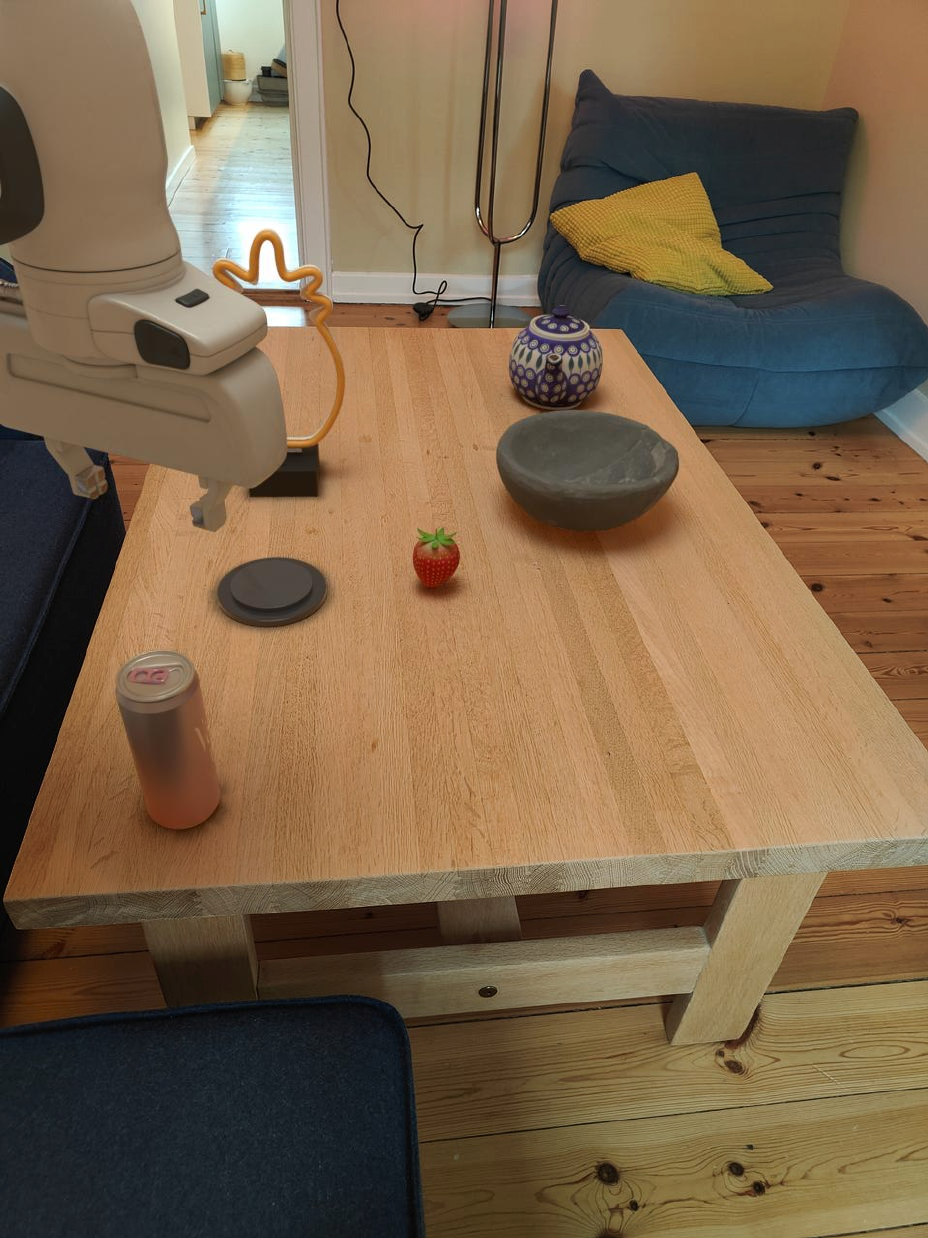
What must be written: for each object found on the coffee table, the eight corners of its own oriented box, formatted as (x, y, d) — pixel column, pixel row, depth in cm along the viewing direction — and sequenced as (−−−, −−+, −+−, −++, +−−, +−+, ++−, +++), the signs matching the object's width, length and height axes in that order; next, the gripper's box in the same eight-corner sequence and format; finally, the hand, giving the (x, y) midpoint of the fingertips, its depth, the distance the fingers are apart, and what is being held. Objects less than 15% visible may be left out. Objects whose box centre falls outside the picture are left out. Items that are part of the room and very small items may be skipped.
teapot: (517, 363, 152) (526, 277, 143) (602, 374, 150) (615, 288, 141) (493, 423, 132) (501, 328, 123) (590, 437, 131) (605, 341, 121)
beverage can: (156, 777, 75) (123, 647, 65) (226, 777, 75) (203, 647, 66) (141, 834, 70) (102, 702, 61) (215, 832, 71) (188, 701, 61)
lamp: (218, 496, 111) (181, 239, 92) (226, 463, 118) (193, 218, 99) (348, 496, 113) (339, 244, 94) (348, 463, 120) (340, 222, 100)
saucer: (222, 634, 90) (221, 624, 89) (213, 569, 99) (211, 560, 98) (335, 617, 93) (335, 607, 92) (317, 556, 102) (316, 547, 101)
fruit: (432, 568, 102) (434, 510, 97) (466, 586, 99) (470, 527, 94) (401, 587, 98) (402, 528, 93) (436, 606, 96) (438, 547, 91)
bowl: (567, 453, 126) (577, 389, 120) (696, 516, 114) (714, 448, 108) (455, 504, 113) (459, 435, 107) (587, 582, 101) (600, 509, 95)
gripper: (-80, 286, 49) (-10, 496, 58) (230, 352, 44) (256, 570, 53) (3, 258, 54) (55, 456, 62) (291, 314, 49) (306, 521, 58)
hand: (149, 509), depth 58 cm, fingers open, 8 cm apart
